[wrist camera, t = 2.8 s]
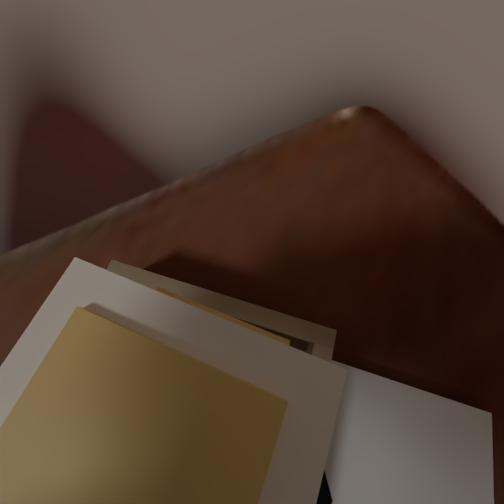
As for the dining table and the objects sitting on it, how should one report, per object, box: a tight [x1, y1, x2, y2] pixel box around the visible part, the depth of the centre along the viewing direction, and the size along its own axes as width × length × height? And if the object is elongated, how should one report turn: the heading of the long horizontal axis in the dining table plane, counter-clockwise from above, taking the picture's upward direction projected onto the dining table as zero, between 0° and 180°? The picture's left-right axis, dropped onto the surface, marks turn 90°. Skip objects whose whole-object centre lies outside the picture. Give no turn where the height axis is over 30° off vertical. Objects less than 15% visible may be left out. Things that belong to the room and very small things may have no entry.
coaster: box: [324, 360, 494, 504], centre depth 13 cm, size 9×9×1 cm
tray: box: [106, 260, 337, 363], centre depth 13 cm, size 14×14×3 cm
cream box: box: [0, 257, 347, 504], centre depth 9 cm, size 5×5×12 cm
